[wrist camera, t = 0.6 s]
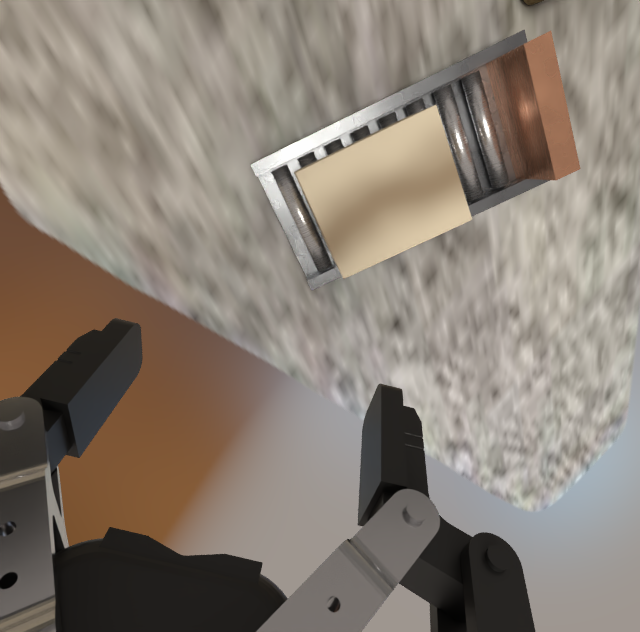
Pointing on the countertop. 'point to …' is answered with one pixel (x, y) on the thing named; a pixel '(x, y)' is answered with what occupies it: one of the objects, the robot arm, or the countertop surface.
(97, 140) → the countertop surface
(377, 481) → the robot arm
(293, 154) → the roller track
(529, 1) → the stone block
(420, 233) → the birch slab
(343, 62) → the countertop surface
